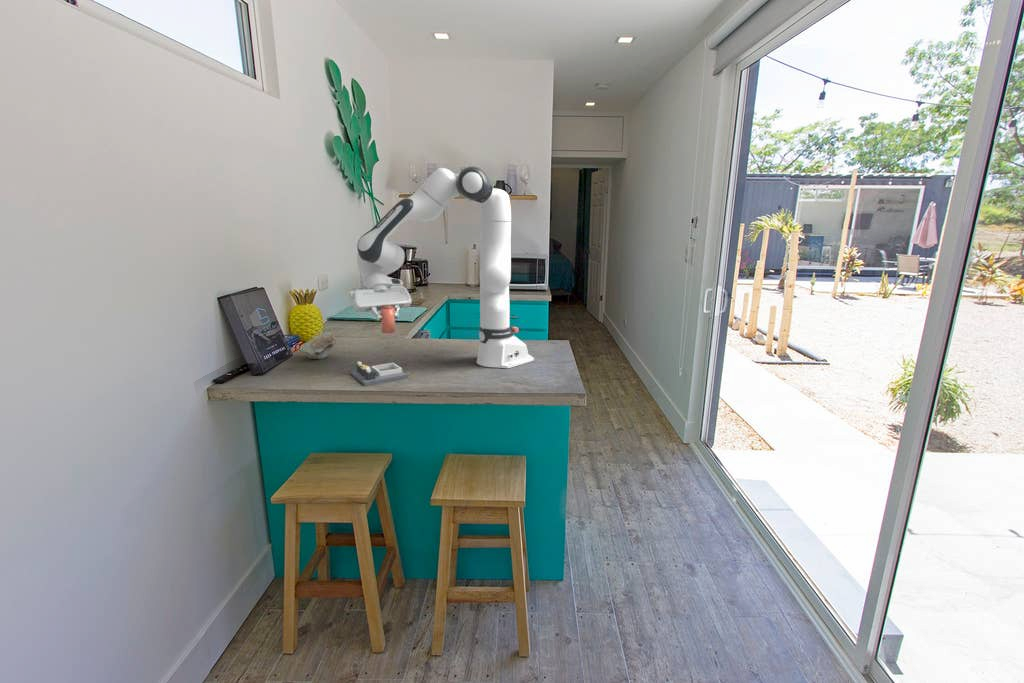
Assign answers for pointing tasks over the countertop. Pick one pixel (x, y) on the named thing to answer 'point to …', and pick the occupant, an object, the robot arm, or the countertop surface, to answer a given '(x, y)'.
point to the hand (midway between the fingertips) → (388, 318)
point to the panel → (377, 373)
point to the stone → (319, 345)
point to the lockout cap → (388, 319)
